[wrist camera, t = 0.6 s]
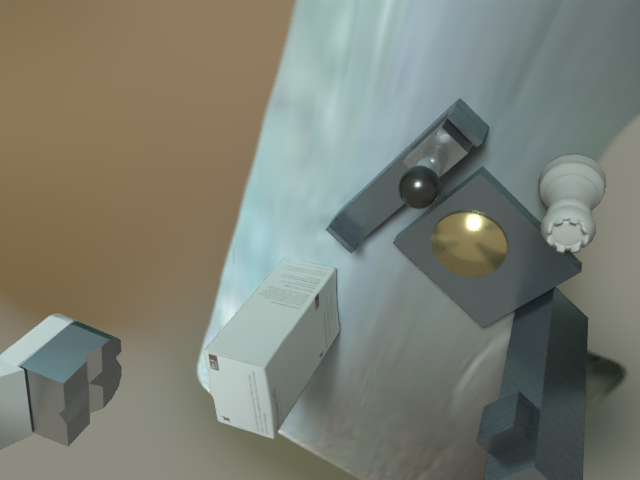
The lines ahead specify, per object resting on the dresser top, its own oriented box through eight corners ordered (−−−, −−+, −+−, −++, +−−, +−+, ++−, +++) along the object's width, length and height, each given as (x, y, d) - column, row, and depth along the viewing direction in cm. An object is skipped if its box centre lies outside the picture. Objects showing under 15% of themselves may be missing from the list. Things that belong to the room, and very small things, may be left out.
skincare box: (341, 329, 59) (279, 445, 48) (287, 318, 61) (215, 426, 50) (336, 262, 55) (266, 371, 43) (279, 252, 57) (197, 354, 46)
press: (459, 97, 42) (390, 221, 28) (650, 286, 44) (671, 486, 31) (337, 212, 52) (241, 346, 38) (499, 363, 54) (463, 542, 40)
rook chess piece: (532, 161, 43) (519, 214, 37) (597, 144, 40) (596, 198, 34) (549, 212, 44) (540, 271, 38) (613, 199, 42) (614, 260, 36)
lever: (445, 116, 42) (419, 162, 36) (473, 144, 42) (451, 194, 36) (408, 151, 44) (377, 200, 38) (434, 177, 44) (408, 229, 38)
